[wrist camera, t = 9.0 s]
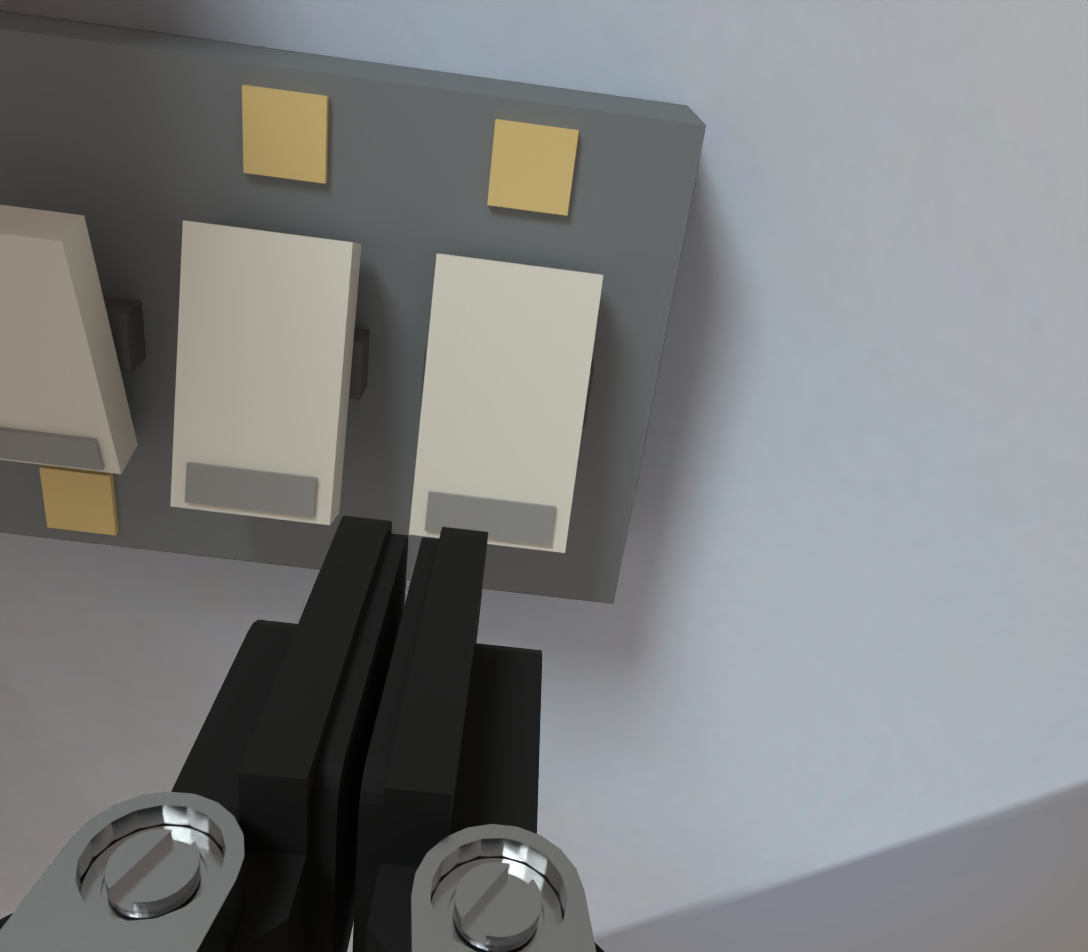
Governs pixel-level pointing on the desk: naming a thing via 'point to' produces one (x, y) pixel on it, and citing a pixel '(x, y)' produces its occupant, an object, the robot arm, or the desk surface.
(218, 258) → the block
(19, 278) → the rocker
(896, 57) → the desk surface
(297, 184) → the console
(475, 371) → the rocker
